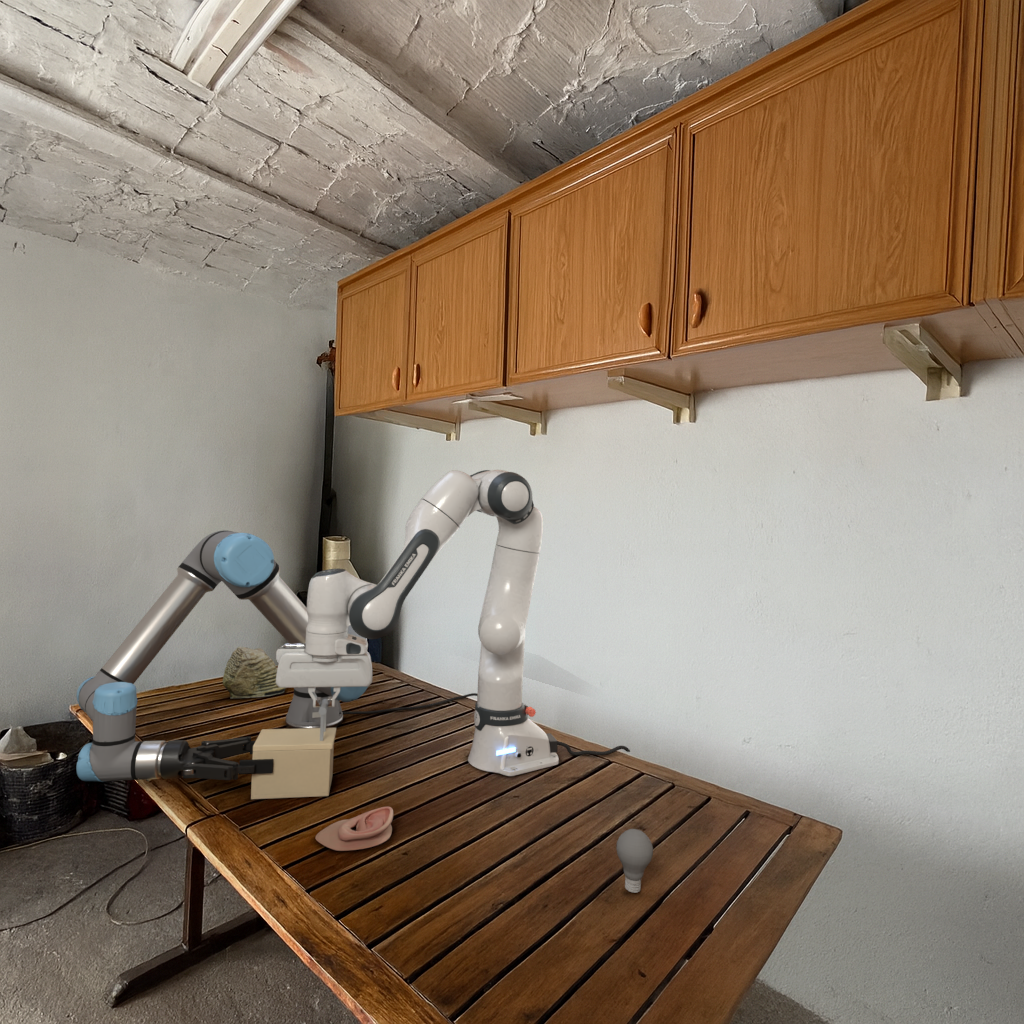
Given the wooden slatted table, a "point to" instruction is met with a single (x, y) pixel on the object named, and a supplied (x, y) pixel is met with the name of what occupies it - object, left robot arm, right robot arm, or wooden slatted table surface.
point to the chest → (294, 774)
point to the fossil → (251, 674)
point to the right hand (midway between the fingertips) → (324, 706)
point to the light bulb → (634, 857)
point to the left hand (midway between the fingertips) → (277, 756)
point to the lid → (298, 736)
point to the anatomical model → (358, 831)
